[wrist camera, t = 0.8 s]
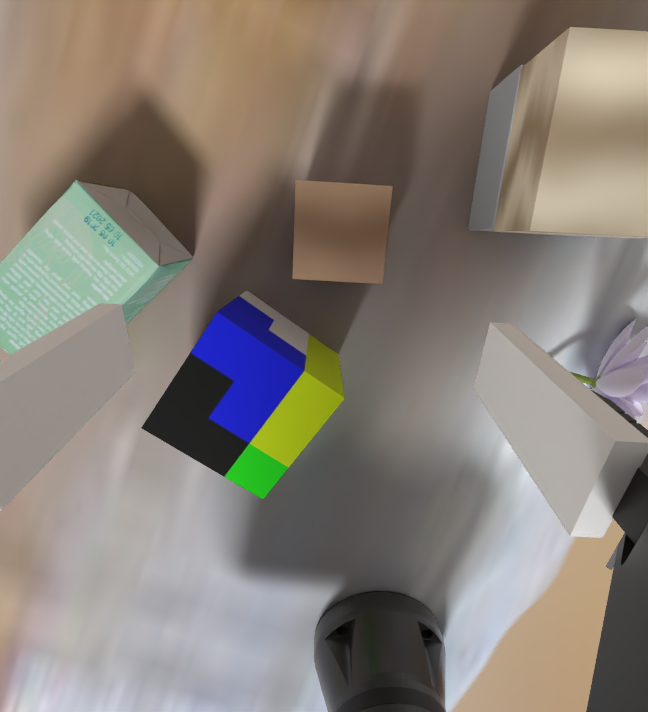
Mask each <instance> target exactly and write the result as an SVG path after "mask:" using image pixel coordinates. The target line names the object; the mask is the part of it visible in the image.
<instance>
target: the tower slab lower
mask: <svg viewBox="0 0 648 712" xmlns="http://www.w3.org/2000/svg"><path fill="white" fill-rule="evenodd" d="M523 66H524V65H520V66H519V67H518V68H517V69H515V70H514V71H513V72H512V73H511V74H510V75H509V76H507V77H506V78H505V79H504V80H503V81H502V82H500V83H499V84H498V85H497V86H496V87H495V88H493V89H492V90H491V91H490V95H489V101H488V107H487V113H486V120H485V126H484V132H483V138H482V144H481V151H480V157H479V163H478V169H477V175H476V182H475V188H474V194H473V200H472V206H471V213H470V219H469V225H468V230H476V231H493V232H494V226H495V220H496V214H497V209H498V203H499V197H500V191H501V185H502V179H503V173H504V167H505V162H506V156H507V150H508V144H509V138H510V132H511V126H512V120H513V115H514V109H515V103H516V97H517V91H518V85H519V79H520V73H521V68H522V67H523ZM510 233H513V232H510ZM526 234H534V233H526ZM543 235H554V234H543ZM560 236H575V235H560ZM576 237H596V236H576Z"/></svg>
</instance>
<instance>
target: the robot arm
mask: <svg viewBox="0 0 648 712" xmlns="http://www.w3.org/2000/svg"><path fill="white" fill-rule="evenodd" d="M134 373H135V370H134V364H133V359H132V354H131V349H130V344H129V339H128V334H127V329H126V323H125V318H124V313H123V308H122V304H106V303H100V304H98V305H96V306H94V307H93V308H91V309H89V310H87V311H86V312H84V313H82V314H80V315H79V316H77V317H75V318H74V319H72V320H70V321H68V322H67V323H65V324H63V325H61V326H60V327H58V328H56V329H54V330H53V331H51V332H49V333H47V334H46V335H44V336H42V337H41V338H39V339H37V340H35V341H34V342H32V343H30V344H28V345H27V346H25V347H23V348H21V349H20V350H18V351H16V352H14V353H13V354H11V355H9V356H7V357H6V358H4V359H2V360H1V361H0V510H3V508H4V507H5V506H6V505H7V504H8V503H9V502H10V501H11V500H12V499H13V498H14V497H15V496H16V495H17V494H18V493H19V492H20V491H21V490H22V489H23V488H24V487H25V486H26V485H27V484H28V483H29V482H30V481H31V480H32V479H33V477H34V476H35V475H36V474H37V473H38V472H39V471H40V470H41V469H42V468H43V467H44V466H45V465H46V464H47V463H48V462H49V461H50V460H51V459H52V458H53V457H54V456H55V455H56V454H57V453H58V452H59V451H60V450H61V449H62V448H63V447H64V445H65V444H66V443H67V442H68V441H69V440H70V439H71V438H72V437H73V436H74V435H75V434H76V433H77V432H78V431H79V430H80V429H81V428H82V427H83V426H84V425H85V424H86V423H87V422H88V421H89V420H90V419H91V418H92V417H93V416H94V414H95V413H96V412H97V411H98V410H99V409H100V408H101V407H102V406H103V405H104V404H105V403H106V402H107V401H108V400H109V399H110V398H111V397H112V396H113V395H114V394H115V393H116V392H117V391H118V390H119V389H120V388H121V387H122V386H123V385H124V383H125V382H126V381H127V380H128V379H129V378H130V377H131V376H132V375H133V374H134ZM473 389H474V391H475V392H476V394H477V395H478V397H479V398H480V400H481V401H482V403H483V404H484V406H485V407H486V409H487V410H488V412H489V413H490V415H491V416H492V418H493V420H494V421H495V423H496V424H497V426H498V427H499V429H500V430H501V432H502V433H503V435H504V436H505V438H506V439H507V441H508V442H509V444H510V445H511V447H512V449H513V450H514V452H515V453H516V455H517V456H518V458H519V459H520V461H521V462H522V464H523V465H524V467H525V468H526V470H527V471H528V473H529V474H530V476H531V477H532V479H533V481H534V482H535V484H536V485H537V487H538V488H539V490H540V491H541V493H542V494H543V496H544V497H545V499H546V500H547V502H548V503H549V505H550V506H551V508H552V510H553V511H554V513H555V514H556V516H557V517H558V519H559V520H560V522H561V523H562V525H563V526H564V528H565V529H566V531H567V532H568V534H569V535H570V536H579V537H603V536H604V534H605V532H606V530H607V529H608V527H609V525H610V523H611V521H612V519H613V518H614V520H615V521H616V522H617V523H618V524H619V525H620V527H621V528H622V529H623V531H624V532H625V533H624V535H623V537H622V539H621V541H620V542H619V544H618V546H617V547H616V549H615V551H614V553H613V554H612V556H611V558H610V560H609V562H608V563H607V565H606V567H607V568H609V569H612V568H613V567H614V570H613V575H612V580H611V585H610V591H609V596H608V601H607V606H606V611H605V617H604V622H603V627H602V632H601V638H600V643H599V648H598V654H597V659H596V664H595V669H594V674H593V680H592V685H591V690H590V695H589V701H588V706H587V711H586V712H648V430H647V429H646V428H644V427H643V426H642V425H641V424H638V423H636V420H635V419H633V418H632V417H631V416H630V415H628V414H625V411H624V410H622V409H621V408H620V407H619V406H617V405H616V404H615V403H614V402H613V401H611V400H610V399H608V398H606V397H604V396H602V395H600V394H598V393H596V392H595V391H593V390H590V389H589V388H588V387H586V386H585V385H584V384H583V383H582V382H580V381H579V380H578V379H577V378H576V377H575V376H573V375H572V374H571V373H570V372H569V371H567V370H566V369H565V368H564V367H563V366H561V365H560V364H559V363H558V362H557V361H556V360H554V359H553V358H552V357H551V356H550V355H548V354H547V353H546V352H545V351H544V350H543V349H541V348H540V347H539V346H538V345H537V344H535V343H534V342H533V341H532V340H531V339H529V338H528V337H527V336H526V335H525V334H524V333H522V332H521V331H520V330H519V329H518V328H516V327H515V326H514V325H513V324H512V323H494V322H490V325H489V329H488V333H487V337H486V341H485V344H484V348H483V352H482V356H481V360H480V364H479V368H478V372H477V376H476V380H475V384H474V388H473ZM314 662H315V668H316V671H317V675H318V678H319V682H320V685H321V689H322V692H323V696H324V699H325V703H326V706H327V710H328V712H446V710H445V647H444V642H443V638H442V635H441V632H440V628H439V625H438V622H437V620H436V618H435V617H434V615H433V614H432V613H431V611H430V610H429V609H428V608H427V607H425V606H424V605H423V604H421V603H420V602H418V601H416V600H415V599H412V598H410V597H408V596H405V595H401V594H397V593H390V592H371V593H364V594H359V595H356V596H353V597H350V598H348V599H345V600H343V601H341V602H340V603H338V604H336V605H335V606H334V607H332V608H331V609H330V610H329V611H328V612H327V613H326V614H325V615H324V616H323V617H322V619H321V620H320V622H319V624H318V626H317V628H316V631H315V637H314Z"/></svg>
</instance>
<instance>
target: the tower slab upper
mask: <svg viewBox="0 0 648 712" xmlns="http://www.w3.org/2000/svg"><path fill="white" fill-rule="evenodd" d="M494 232H513V233H534V234H554V235H575V236H596V237H617V238H648V31H633V30H616V29H599V28H582V27H569V28H568V29H567V30H566V31H564V32H563V33H562V34H561V35H560V36H559V37H557V38H556V39H555V40H554V41H553V42H551V43H550V44H549V45H548V46H547V47H545V48H544V49H543V50H542V51H541V52H540V53H538V54H537V55H536V56H535V57H534V58H532V59H531V60H530V61H529V62H528V63H527V64H525V65H524V66H523V67H522V68H521V73H520V79H519V85H518V91H517V97H516V103H515V109H514V115H513V120H512V126H511V132H510V138H509V144H508V150H507V156H506V162H505V167H504V173H503V179H502V185H501V191H500V197H499V203H498V209H497V214H496V220H495V226H494Z"/></svg>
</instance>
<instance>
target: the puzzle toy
mask: <svg viewBox="0 0 648 712" xmlns="http://www.w3.org/2000/svg"><path fill="white" fill-rule="evenodd" d="M344 399H345V396H344V389H343V382H342V375H341V368H340V362H339V355H338V354H337V353H336V352H334V351H333V350H331V349H330V348H328V347H327V346H326V345H324V344H323V343H321V342H320V341H319V340H317V339H316V338H314V337H313V336H311V335H310V334H309V333H307V332H306V331H304V330H303V329H301V328H300V327H299V326H297V325H296V324H294V323H293V322H291V321H290V320H289V319H287V318H286V317H284V316H283V315H281V314H280V313H279V312H277V311H276V310H274V309H273V308H271V307H270V306H269V305H267V304H266V303H264V302H263V301H261V300H260V299H259V298H257V297H256V296H254V295H253V294H251V293H250V292H249V291H245V292H244V293H242V294H241V295H240V296H238V297H237V298H236V299H234V300H233V301H231V302H230V303H229V304H227V305H226V306H225V307H223V308H222V309H220V310H219V311H218V312H217V313H216V314H215V316H214V317H213V319H212V321H211V322H210V324H209V325H208V327H207V328H206V330H205V331H204V333H203V334H202V336H201V337H200V339H199V340H198V342H197V344H196V345H195V347H194V348H193V350H192V351H191V353H190V354H189V356H188V357H187V359H186V360H185V362H184V363H183V365H182V366H181V368H180V370H179V371H178V373H177V374H176V376H175V377H174V379H173V380H172V382H171V383H170V385H169V386H168V388H167V389H166V391H165V393H164V394H163V396H162V397H161V399H160V400H159V402H158V403H157V405H156V406H155V408H154V409H153V411H152V412H151V414H150V416H149V417H148V419H147V420H146V422H145V423H144V425H143V426H142V429H144V430H146V431H147V432H149V433H151V434H152V435H154V436H156V437H157V438H159V439H161V440H163V441H164V442H166V443H168V444H169V445H171V446H173V447H175V448H176V449H178V450H180V451H181V452H183V453H185V454H186V455H188V456H190V457H192V458H193V459H195V460H197V461H198V462H200V463H202V464H203V465H205V466H207V467H209V468H210V469H212V470H214V471H215V472H217V473H219V474H220V475H222V476H224V477H226V478H227V479H229V480H231V481H232V482H234V483H236V484H238V485H239V486H241V487H243V488H244V489H246V490H248V491H249V492H251V493H253V494H255V495H256V496H258V497H260V498H261V499H264V498H265V496H266V495H267V494H268V493H269V491H270V490H271V489H272V488H273V486H274V485H275V484H276V483H277V481H278V480H279V479H280V478H281V477H282V475H283V474H284V473H285V472H286V470H287V469H288V468H289V467H290V465H291V464H292V463H293V462H294V460H295V459H296V458H297V457H298V456H299V454H300V453H301V452H302V451H303V449H304V448H305V447H306V446H307V444H308V443H309V442H310V441H311V439H312V438H313V437H314V436H315V434H316V433H317V432H318V431H319V430H320V428H321V427H322V426H323V425H324V423H325V422H326V421H327V420H328V418H329V417H330V416H331V415H332V413H333V412H334V411H335V410H336V408H337V407H338V406H339V405H340V404H341V402H342V401H343V400H344Z"/></svg>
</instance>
